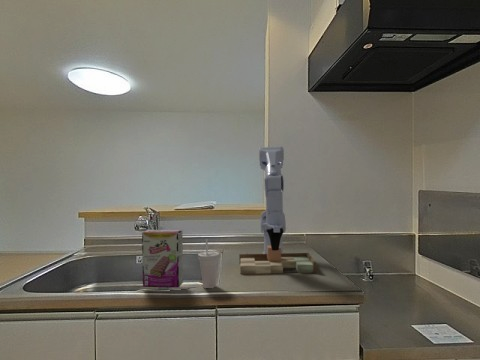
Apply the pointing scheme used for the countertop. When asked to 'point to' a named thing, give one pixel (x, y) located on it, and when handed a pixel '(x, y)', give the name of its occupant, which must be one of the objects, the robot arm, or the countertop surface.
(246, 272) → the cubby shelf
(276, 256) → the block
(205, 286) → the smoothie
